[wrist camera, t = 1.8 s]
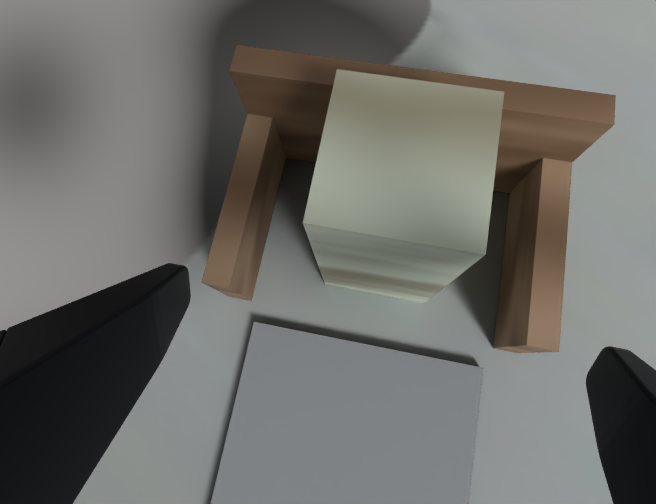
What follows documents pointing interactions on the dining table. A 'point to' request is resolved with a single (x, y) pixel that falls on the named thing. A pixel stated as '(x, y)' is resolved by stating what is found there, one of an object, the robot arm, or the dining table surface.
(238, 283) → the walnut u-shaped frame
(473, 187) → the sage block
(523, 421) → the dining table surface
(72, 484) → the robot arm
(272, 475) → the slate mat
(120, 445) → the dining table surface
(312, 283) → the dining table surface
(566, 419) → the dining table surface
